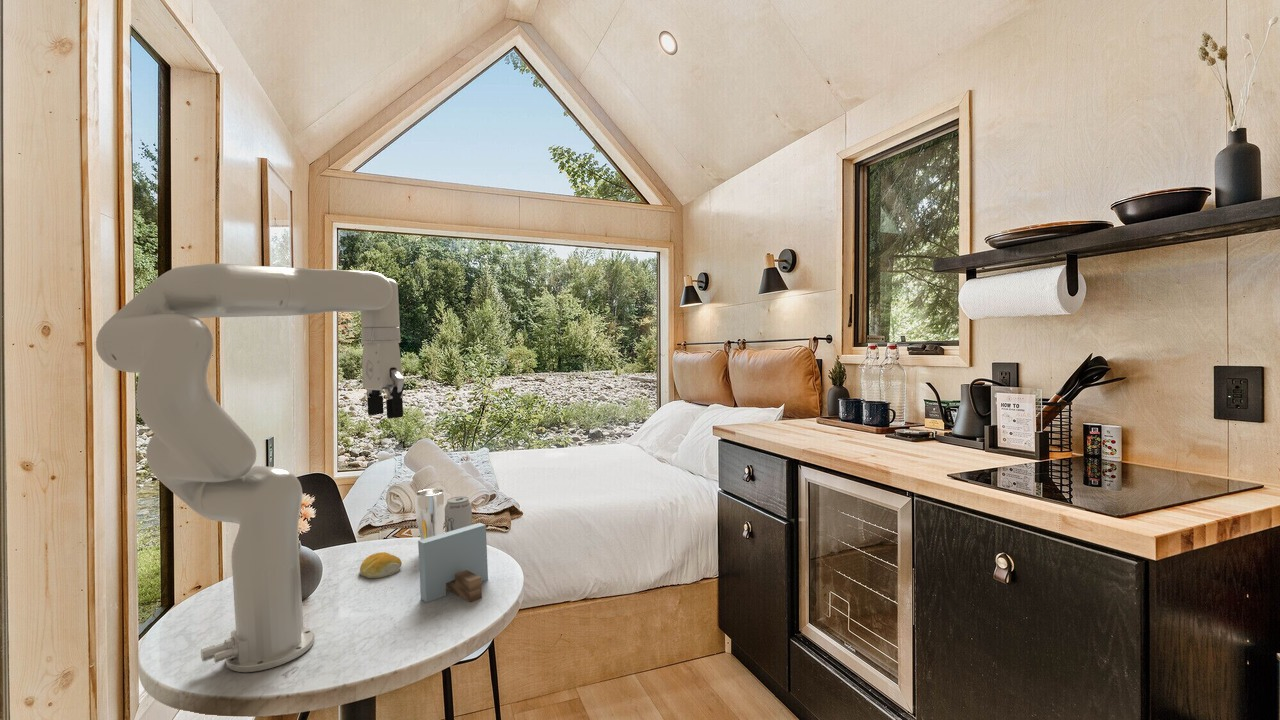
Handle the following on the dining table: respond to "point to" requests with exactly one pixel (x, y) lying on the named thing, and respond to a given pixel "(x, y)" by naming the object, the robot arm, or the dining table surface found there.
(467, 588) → the brown wooden bar
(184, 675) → the dining table surface
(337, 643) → the dining table surface
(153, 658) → the dining table surface
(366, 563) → the bread roll
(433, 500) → the shiny metal tumbler
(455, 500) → the energy drink can
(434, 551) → the blue board
